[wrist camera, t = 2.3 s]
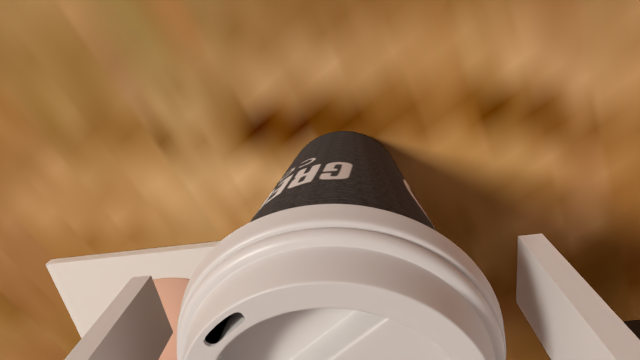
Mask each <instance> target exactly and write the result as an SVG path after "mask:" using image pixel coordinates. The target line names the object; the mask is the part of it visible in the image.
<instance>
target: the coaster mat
mask: <svg viewBox="0 0 640 360" xmlns="http://www.w3.org/2000/svg"><path fill="white" fill-rule="evenodd" d="M219 242H220V241H217V242H207V243H198V244H189V245H180V246H171V247H161V248H152V249H143V250H134V251H125V252H115V253H106V254H97V255H88V256H79V257H69V258H60V259H51V260H50V261H49V262H48V263H46V264H45V265H46V267H47V269H48V271H49V273H50V275H51V277H52V279H53V281H54V283H55V285H56V287H57V289H58V291H59V293H60V295H61V297H62V299H63V301H64V303H65V305H66V307H67V309H68V312H69V314H70V316H71V318H72V320H73V322H74V324H75V326H76V328H77V330H78V332H79V334H80V336H81V338H83V337H84V335H85V334H86V333H87V332H88V330H89V329H90V328H91V327H92V326H93V324H94V323H95V322H96V321H97V319H98V318H99V317H100V316H101V315H102V313H103V312H104V311H105V310H106V308H107V307H108V306H109V305H110V304H111V302H112V301H113V300H114V299H115V297H116V296H117V295H118V294H119V293H120V291H121V290H122V289H123V288H124V286H125V285H126V284H127V283H128V282H129V280H130V279H131V278H132V277H140V276H149V275H151V276H152V279H153V281H154V284H155V287H156V289H157V292H158V294H159V297H160V299H161V302H162V305H163V307H164V310H165V312H166V315H167V317H168V320H169V323H170V325H171V328H172V330H173V334H172V336H171V337H170V339H169V341H168V343H167V345H166V347H165V348H164V350H163V352H162V354H161V356H160V358H159V359H158V360H177V325H178V319H179V314H180V309H181V304H182V299H183V296H184V293H185V290H186V287H187V285H188V282H189V280H190V278H191V276H192V275H193V273H194V271H195V270H196V268H197V267H198V265H199V264H200V262H201V261H202V260H203V258H204V257H205V256H206V255H207V254H208V253H209V252H210V251H211V250H212V249H213V248H214V247H215V246H216V245H217V244H218V243H219Z"/></svg>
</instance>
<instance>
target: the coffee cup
mask: <svg viewBox="0 0 640 360" xmlns="http://www.w3.org/2000/svg"><path fill="white" fill-rule="evenodd" d="M177 360H506V340H505V332H504V324H503V318H502V313H501V309H500V306H499V303H498V300H497V298H496V295H495V293H494V291H493V289H492V287H491V285H490V283H489V282H488V280H487V278H486V277H485V275H484V274H483V273H482V271H481V270H480V269H479V267H478V266H477V265H476V264H475V263H474V261H473V260H472V259H471V258H470V257H469V256H468V255H467V254H466V253H465V252H464V251H463V250H462V249H460V248H459V247H458V246H457V245H456V244H454V243H453V242H452V241H450V240H449V239H448V238H446V237H445V236H443V235H442V234H440V233H438V232H437V231H436V229H435V227H434V226H433V224H432V223H431V221H430V219H429V218H428V216H427V215H426V213H425V211H424V210H423V208H422V206H421V205H420V203H419V201H418V200H417V198H416V197H415V195H414V193H413V192H412V190H411V188H410V187H409V185H408V183H407V182H406V180H405V178H404V177H403V175H402V174H401V172H400V170H399V169H398V167H397V165H396V164H395V162H394V160H393V159H392V157H391V156H390V154H389V153H388V152H387V150H386V149H385V148H384V147H383V146H382V145H381V144H379V143H378V142H377V141H375V140H374V139H372V138H370V137H368V136H366V135H363V134H360V133H356V132H349V131H339V132H332V133H328V134H325V135H322V136H320V137H318V138H316V139H314V140H313V141H311V142H310V143H309V144H308V145H306V146H305V147H304V148H303V149H302V151H301V152H300V153H299V154H298V156H297V157H296V159H295V160H294V161H293V163H292V164H291V166H290V167H289V168H288V170H287V171H286V173H285V174H284V175H283V177H282V178H281V180H280V181H279V182H278V184H277V185H276V187H275V188H274V189H273V191H272V192H271V194H270V195H269V196H268V198H267V199H266V201H265V202H264V203H263V205H262V206H261V208H260V209H259V210H258V212H257V213H256V214H255V216H254V217H253V219H252V220H251V221H250V223H248V224H246V225H244V226H242V227H241V228H239V229H237V230H236V231H234V232H232V233H231V234H230V235H228V236H227V237H225V238H224V239H223V240H222V241H220V242H219V243H218V244H217V245H216V246H215V247H214V248H213V249H212V250H211V251H210V252H209V253H208V254H207V255H206V256H205V257H204V258H203V260H202V261H201V262H200V264H199V265H198V267H197V268H196V270H195V271H194V273H193V275H192V276H191V278H190V280H189V282H188V285H187V287H186V290H185V293H184V296H183V299H182V304H181V309H180V314H179V319H178V325H177Z"/></svg>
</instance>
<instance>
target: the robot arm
mask: <svg viewBox="0 0 640 360" xmlns="http://www.w3.org/2000/svg"><path fill="white" fill-rule="evenodd" d="M516 303H517V304H518V306H519V308H520V309H521V311H522V313H523V314H524V316H525V318H526V319H527V321H528V322H529V324H530V326H531V327H532V329H533V331H534V332H535V334H536V336H537V337H538V339H539V341H540V342H541V344H542V346H543V347H544V349H545V351H546V352H547V354H548V356H549V357H550V359H551V360H640V320H633V321H622V320H621V319H620V318H619V317H618V316H617V315H616V314H615V313H614V311H613V310H612V309H611V308H610V307H609V306H608V305H607V304H606V303H605V302H604V301H603V299H602V298H601V297H600V296H599V295H598V294H597V293H596V292H595V291H594V290H593V289H592V287H591V286H590V285H589V284H588V283H587V282H586V281H585V280H584V279H583V278H582V277H581V275H580V274H579V273H578V272H577V271H576V270H575V269H574V268H573V267H572V266H571V265H570V263H569V262H568V261H567V260H566V259H565V258H564V257H563V256H562V255H561V254H560V253H559V251H558V250H557V249H556V248H555V247H554V246H553V245H552V244H551V243H550V242H549V241H548V239H547V238H546V237H545V236H544V235H543V234H542V233H541V234H532V235H522V236H518V251H517V287H516ZM172 334H173V330H172V328H171V325H170V323H169V320H168V317H167V315H166V312H165V310H164V307H163V305H162V302H161V299H160V297H159V294H158V292H157V289H156V287H155V284H154V281H153V279H152V276H151V275H149V276H140V277H132V278H131V279H130V280H129V282H128V283H127V284H126V285H125V286H124V288H123V289H122V290H121V291H120V293H119V294H118V295H117V296H116V297H115V299H114V300H113V301H112V302H111V304H110V305H109V306H108V307H107V308H106V310H105V311H104V312H103V313H102V315H101V316H100V317H99V318H98V319H97V321H96V322H95V323H94V324H93V326H92V327H91V328H90V329H89V330H88V332H87V333H86V334H85V335H84V337H83V338H82V339H81V340H80V341H79V343H78V344H77V345H76V346H75V347H74V349H73V350H72V351H71V352H70V354H69V355H68V356H67V357H66V358H65V360H158V359H159V358H160V356H161V354H162V352H163V350H164V348H165V347H166V345H167V343H168V341H169V339H170V337H171V336H172Z"/></svg>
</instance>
